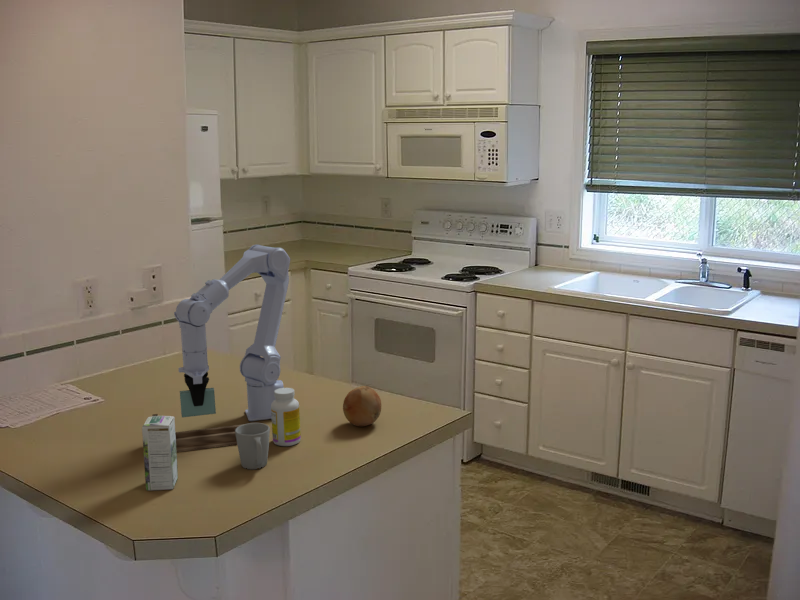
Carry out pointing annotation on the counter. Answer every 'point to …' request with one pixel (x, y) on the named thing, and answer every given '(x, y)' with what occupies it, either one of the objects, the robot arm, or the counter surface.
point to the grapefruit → (362, 406)
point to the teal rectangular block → (191, 410)
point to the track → (205, 438)
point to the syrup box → (160, 453)
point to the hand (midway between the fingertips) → (198, 403)
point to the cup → (253, 444)
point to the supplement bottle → (285, 418)
